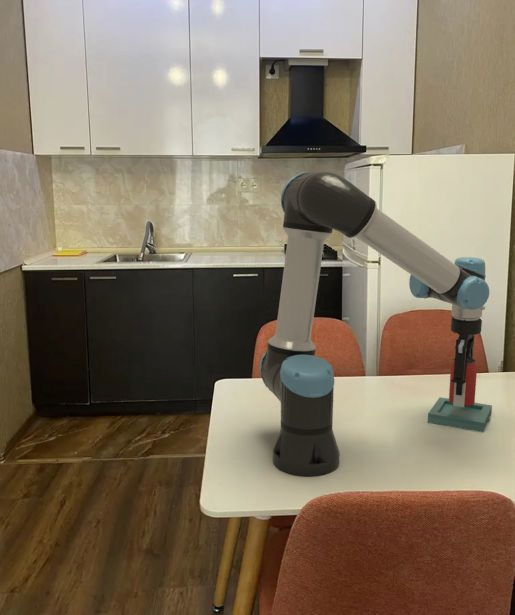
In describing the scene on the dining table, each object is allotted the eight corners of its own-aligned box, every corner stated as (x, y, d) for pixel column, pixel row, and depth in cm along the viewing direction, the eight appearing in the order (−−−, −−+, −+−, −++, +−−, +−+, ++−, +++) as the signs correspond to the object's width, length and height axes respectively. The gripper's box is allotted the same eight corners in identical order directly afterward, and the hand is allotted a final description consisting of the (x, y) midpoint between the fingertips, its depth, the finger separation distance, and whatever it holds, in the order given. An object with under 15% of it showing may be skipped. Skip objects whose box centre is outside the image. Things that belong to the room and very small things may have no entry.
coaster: (483, 432, 154) (484, 422, 153) (427, 422, 160) (428, 413, 160) (491, 414, 166) (492, 405, 165) (439, 405, 172) (439, 397, 172)
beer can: (476, 408, 158) (479, 364, 156) (450, 406, 160) (452, 362, 157) (472, 399, 165) (475, 357, 162) (447, 398, 166) (449, 355, 163)
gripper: (475, 326, 147) (469, 416, 152) (487, 311, 164) (481, 392, 169) (443, 323, 151) (438, 411, 155) (458, 309, 168) (454, 388, 172)
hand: (461, 401), depth 162 cm, fingers closed on beer can, 7 cm apart
